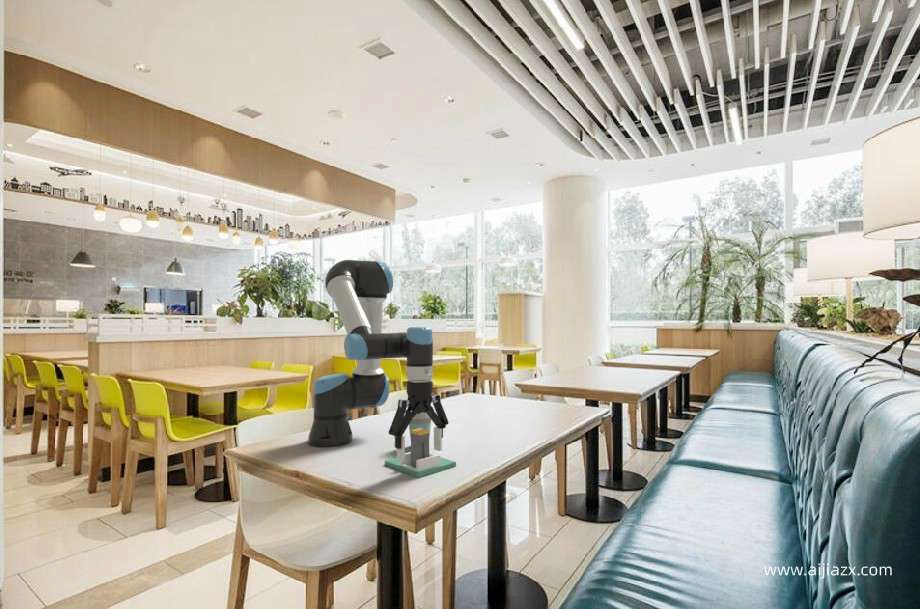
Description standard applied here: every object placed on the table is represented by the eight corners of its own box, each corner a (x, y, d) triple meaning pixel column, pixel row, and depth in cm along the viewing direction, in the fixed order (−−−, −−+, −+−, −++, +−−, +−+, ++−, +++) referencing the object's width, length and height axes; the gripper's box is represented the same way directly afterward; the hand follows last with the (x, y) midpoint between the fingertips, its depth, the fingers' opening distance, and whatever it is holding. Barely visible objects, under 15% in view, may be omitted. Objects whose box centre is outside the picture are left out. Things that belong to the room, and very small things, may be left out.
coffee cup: (428, 450, 153) (428, 413, 153) (403, 449, 155) (403, 413, 155) (435, 443, 161) (435, 409, 162) (411, 442, 163) (411, 408, 163)
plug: (410, 465, 134) (410, 430, 134) (420, 462, 136) (420, 428, 136) (421, 468, 130) (421, 432, 131) (430, 466, 133) (430, 430, 133)
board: (384, 464, 138) (384, 450, 138) (421, 455, 148) (421, 441, 148) (418, 477, 127) (418, 462, 127) (456, 466, 137) (456, 451, 137)
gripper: (392, 386, 123) (392, 467, 122) (459, 377, 140) (460, 448, 140) (375, 383, 128) (375, 461, 128) (443, 375, 146) (443, 444, 145)
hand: (419, 454), depth 134 cm, fingers open, 13 cm apart
